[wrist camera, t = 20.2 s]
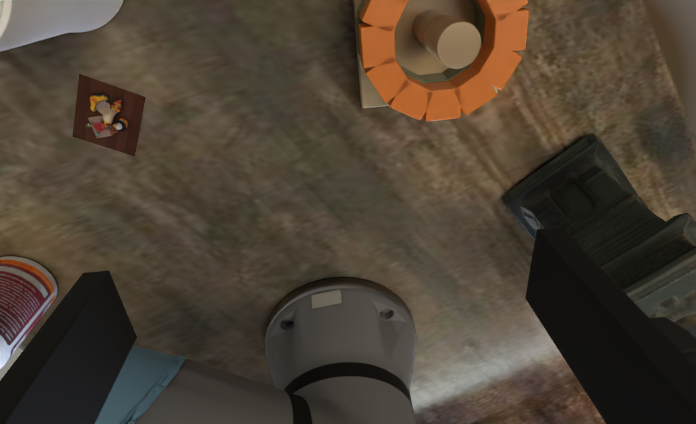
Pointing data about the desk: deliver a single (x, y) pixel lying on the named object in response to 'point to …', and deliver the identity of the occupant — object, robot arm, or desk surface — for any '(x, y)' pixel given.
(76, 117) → the diorama
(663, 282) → the model
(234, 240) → the desk surface
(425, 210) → the desk surface
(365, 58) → the orange ring
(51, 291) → the pill bottle
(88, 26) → the mug
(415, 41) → the stacker
